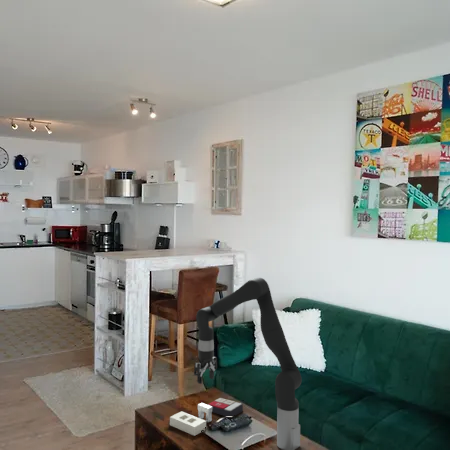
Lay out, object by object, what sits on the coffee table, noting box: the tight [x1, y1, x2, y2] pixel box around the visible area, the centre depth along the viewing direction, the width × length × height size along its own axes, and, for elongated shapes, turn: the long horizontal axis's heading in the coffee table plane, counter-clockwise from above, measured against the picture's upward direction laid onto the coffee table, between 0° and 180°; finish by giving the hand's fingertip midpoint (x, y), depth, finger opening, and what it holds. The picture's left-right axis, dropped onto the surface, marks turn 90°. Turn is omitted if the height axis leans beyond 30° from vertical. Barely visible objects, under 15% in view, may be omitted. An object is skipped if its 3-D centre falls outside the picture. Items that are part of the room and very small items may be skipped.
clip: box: [197, 402, 213, 423], centre depth 224 cm, size 7×3×7 cm, turn 51°
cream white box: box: [169, 411, 207, 436], centre depth 217 cm, size 16×8×4 cm, turn 51°
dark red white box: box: [207, 397, 244, 417], centre depth 235 cm, size 11×4×15 cm
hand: (205, 380), depth 224 cm, fingers open, 8 cm apart
